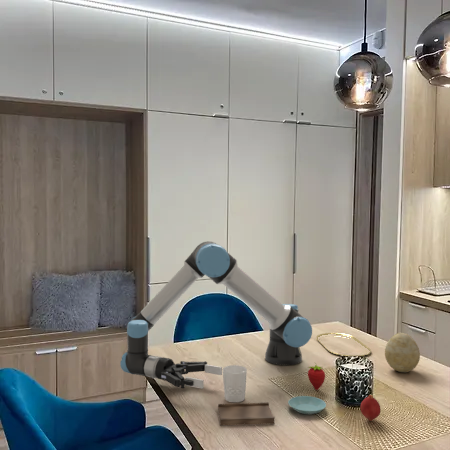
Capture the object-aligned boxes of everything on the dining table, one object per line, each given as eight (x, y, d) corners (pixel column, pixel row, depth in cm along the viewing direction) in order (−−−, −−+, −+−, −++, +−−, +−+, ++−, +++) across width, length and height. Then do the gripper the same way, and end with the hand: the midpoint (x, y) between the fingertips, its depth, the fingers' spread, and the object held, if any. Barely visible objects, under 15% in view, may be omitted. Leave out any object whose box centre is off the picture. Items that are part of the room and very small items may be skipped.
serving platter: (334, 359, 201) (334, 356, 201) (311, 336, 236) (311, 333, 236) (378, 358, 203) (378, 354, 203) (348, 335, 238) (348, 332, 238)
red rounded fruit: (357, 416, 147) (357, 390, 147) (375, 415, 147) (376, 390, 147) (364, 425, 141) (364, 398, 141) (383, 424, 142) (383, 398, 141)
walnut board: (268, 407, 153) (268, 402, 153) (274, 423, 142) (274, 417, 142) (218, 409, 152) (218, 403, 152) (220, 425, 141) (220, 419, 141)
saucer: (300, 399, 160) (299, 392, 160) (332, 408, 153) (332, 401, 153) (281, 411, 151) (281, 404, 151) (314, 421, 144) (314, 414, 144)
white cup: (244, 404, 156) (244, 374, 155) (220, 402, 157) (220, 372, 157) (248, 394, 163) (248, 365, 163) (225, 393, 165) (225, 364, 164)
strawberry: (310, 394, 163) (310, 365, 163) (305, 386, 171) (305, 358, 170) (327, 394, 164) (328, 365, 163) (321, 385, 171) (322, 358, 171)
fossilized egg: (382, 374, 183) (383, 335, 182) (386, 363, 195) (387, 327, 194) (418, 379, 178) (419, 339, 177) (420, 368, 189) (421, 331, 188)
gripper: (178, 367, 184) (228, 376, 175) (139, 390, 162) (194, 402, 152) (178, 348, 184) (228, 355, 174) (139, 368, 161) (194, 378, 152)
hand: (212, 377), depth 163 cm, fingers open, 13 cm apart
